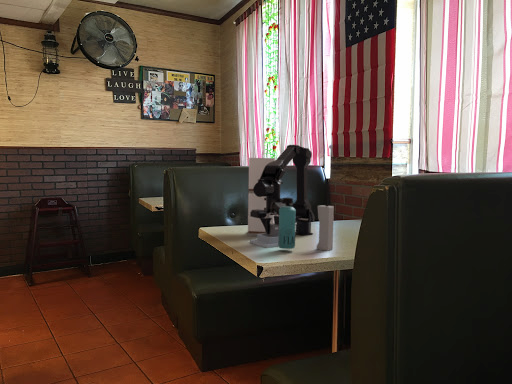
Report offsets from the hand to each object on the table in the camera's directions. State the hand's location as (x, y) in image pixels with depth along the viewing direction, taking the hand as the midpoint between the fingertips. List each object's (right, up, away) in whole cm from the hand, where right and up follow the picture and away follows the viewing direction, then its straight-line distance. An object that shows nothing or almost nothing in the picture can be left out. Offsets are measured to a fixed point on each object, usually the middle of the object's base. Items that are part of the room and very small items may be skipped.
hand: (272, 233), depth 160 cm
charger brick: (0, -1, 0) cm, 1 cm away
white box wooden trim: (-4, -3, +22) cm, 22 cm away
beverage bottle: (+5, -5, -13) cm, 15 cm away
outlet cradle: (0, -4, 0) cm, 4 cm away
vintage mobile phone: (+20, -5, -9) cm, 22 cm away
